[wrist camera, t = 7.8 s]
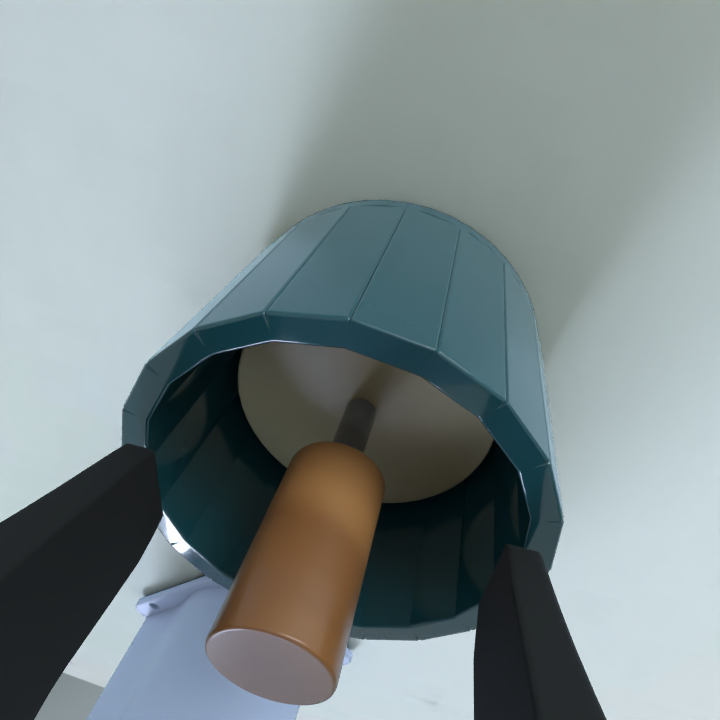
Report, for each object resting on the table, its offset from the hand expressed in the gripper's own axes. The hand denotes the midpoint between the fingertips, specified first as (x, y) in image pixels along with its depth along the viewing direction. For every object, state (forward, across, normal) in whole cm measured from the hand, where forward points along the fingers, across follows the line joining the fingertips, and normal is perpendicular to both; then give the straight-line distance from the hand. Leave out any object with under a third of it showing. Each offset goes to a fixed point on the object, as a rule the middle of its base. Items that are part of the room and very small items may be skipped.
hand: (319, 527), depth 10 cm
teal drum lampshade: (+7, 0, 0) cm, 7 cm away
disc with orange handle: (+6, 0, 0) cm, 6 cm away
